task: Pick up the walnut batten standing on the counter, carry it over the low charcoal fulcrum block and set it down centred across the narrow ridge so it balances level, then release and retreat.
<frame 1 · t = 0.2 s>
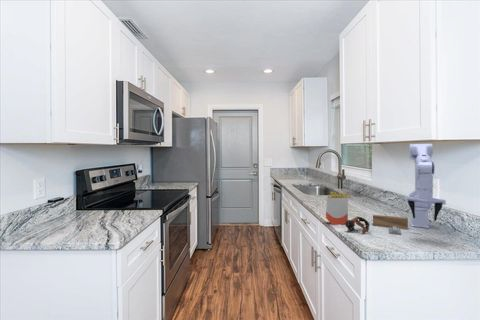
hand: (424, 218, 115), 10 cm above the worktop, fingers open, 7 cm apart
fulcrum: (394, 232, 128), on the worktop
french fries container: (336, 223, 145), on the worktop
dark brown curved piece: (356, 231, 131), on the worktop
batten: (389, 227, 138), on the worktop
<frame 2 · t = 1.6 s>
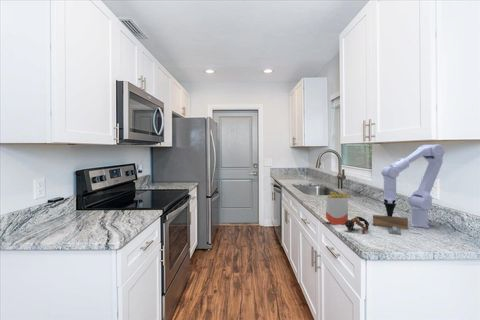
hand: (389, 214, 137), 7 cm above the worktop, fingers open, 7 cm apart
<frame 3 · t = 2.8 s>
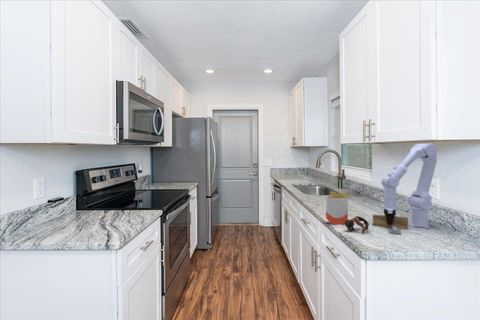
hand: (389, 223, 138), 1 cm above the worktop, fingers closed on batten, 3 cm apart
batten: (389, 226, 138), on the worktop, touching gripper
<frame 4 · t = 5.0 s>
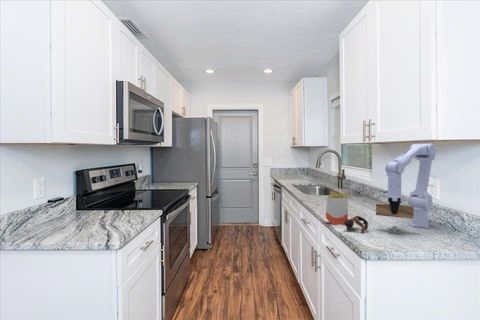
hand: (394, 213, 129), 9 cm above the worktop, fingers closed on batten, 3 cm apart
batten: (394, 216, 129), point 8 cm above the worktop, touching gripper
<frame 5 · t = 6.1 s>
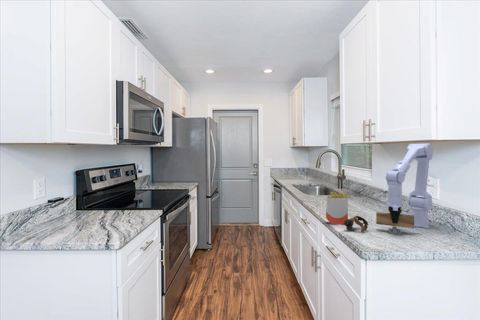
hand: (394, 222, 128), 5 cm above the worktop, fingers closed on batten, 3 cm apart
batten: (394, 225, 128), point 3 cm above the worktop, touching gripper
when the fingers open (4 cm above the worktop, at t = 7.1 s): batten stays where it is, resting on fulcrum.
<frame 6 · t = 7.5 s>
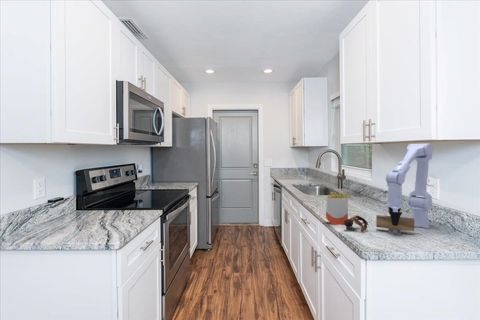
hand: (394, 223, 128), 4 cm above the worktop, fingers open, 7 cm apart
batten: (394, 228, 128), point 2 cm above the worktop, touching fulcrum
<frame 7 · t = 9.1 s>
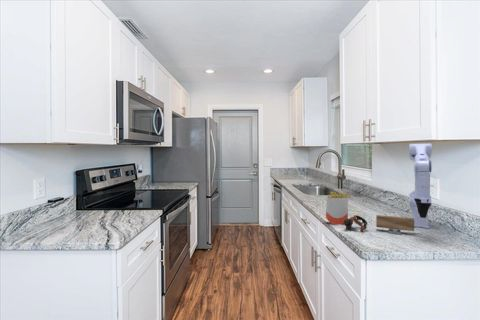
hand: (422, 215, 119), 10 cm above the worktop, fingers open, 7 cm apart
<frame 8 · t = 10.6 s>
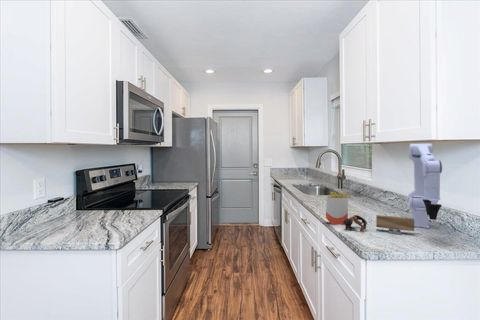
hand: (431, 217, 116), 10 cm above the worktop, fingers open, 7 cm apart
at the end: batten tilted 0°; batten touching fulcrum; batten 0.1 cm from the fulcrum (horizontally) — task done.
